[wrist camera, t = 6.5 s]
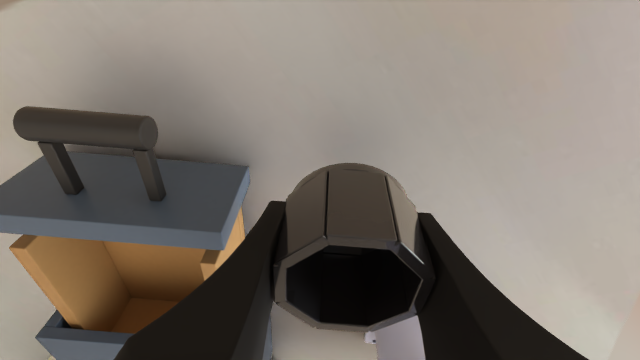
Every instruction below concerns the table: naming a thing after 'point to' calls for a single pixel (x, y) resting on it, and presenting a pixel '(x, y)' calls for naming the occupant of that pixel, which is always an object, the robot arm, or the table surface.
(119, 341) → the cabinet
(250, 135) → the table surface
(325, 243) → the grey hollow octagonal cup
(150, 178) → the drawer
